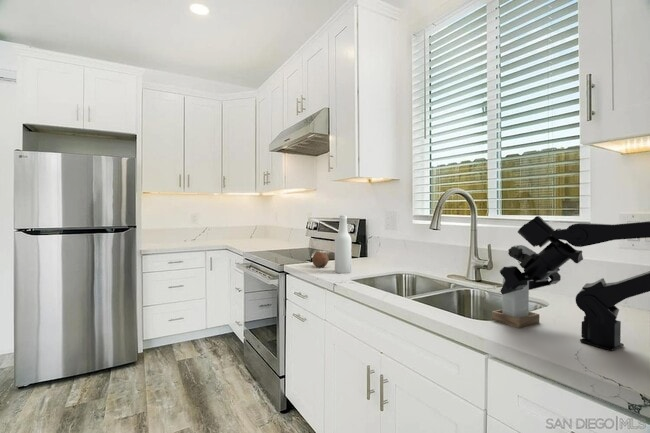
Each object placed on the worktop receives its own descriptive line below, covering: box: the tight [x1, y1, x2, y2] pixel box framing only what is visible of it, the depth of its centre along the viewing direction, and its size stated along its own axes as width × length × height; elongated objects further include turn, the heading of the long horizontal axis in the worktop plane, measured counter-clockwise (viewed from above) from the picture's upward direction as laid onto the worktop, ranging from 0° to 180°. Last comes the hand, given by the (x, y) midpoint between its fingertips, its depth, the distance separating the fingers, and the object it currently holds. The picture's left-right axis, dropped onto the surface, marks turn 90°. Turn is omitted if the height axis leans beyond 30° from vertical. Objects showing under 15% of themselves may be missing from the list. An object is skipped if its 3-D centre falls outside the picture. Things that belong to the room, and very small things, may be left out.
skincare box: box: [501, 277, 530, 318], centre depth 98 cm, size 6×4×12 cm
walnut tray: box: [491, 308, 540, 329], centre depth 98 cm, size 8×10×2 cm
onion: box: [311, 251, 329, 268], centre depth 192 cm, size 10×9×10 cm
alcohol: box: [334, 214, 352, 274], centre depth 176 cm, size 9×9×30 cm
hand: (511, 291), depth 100 cm, fingers open, 8 cm apart
